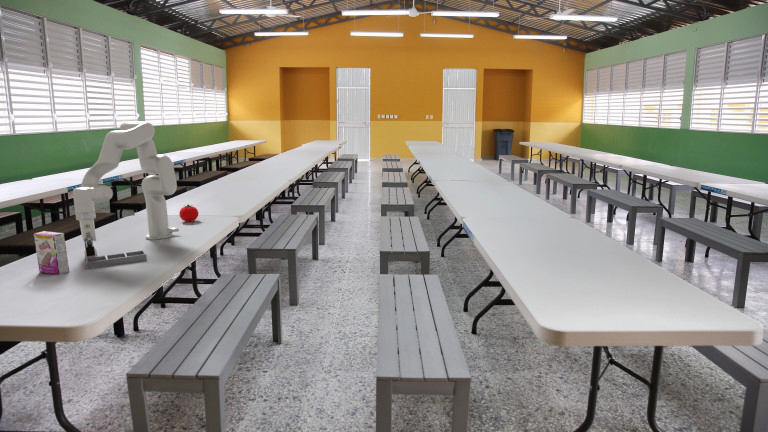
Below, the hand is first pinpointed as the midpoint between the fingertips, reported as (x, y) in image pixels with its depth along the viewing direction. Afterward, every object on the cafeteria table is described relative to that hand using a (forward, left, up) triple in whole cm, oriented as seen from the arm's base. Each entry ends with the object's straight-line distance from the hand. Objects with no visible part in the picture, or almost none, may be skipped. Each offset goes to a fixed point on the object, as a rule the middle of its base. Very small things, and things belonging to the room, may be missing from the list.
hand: (90, 253), depth 233 cm
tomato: (-53, -54, -2) cm, 76 cm away
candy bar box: (+14, +16, -2) cm, 21 cm away
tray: (-9, +14, -2) cm, 17 cm away
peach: (0, 0, -2) cm, 2 cm away
